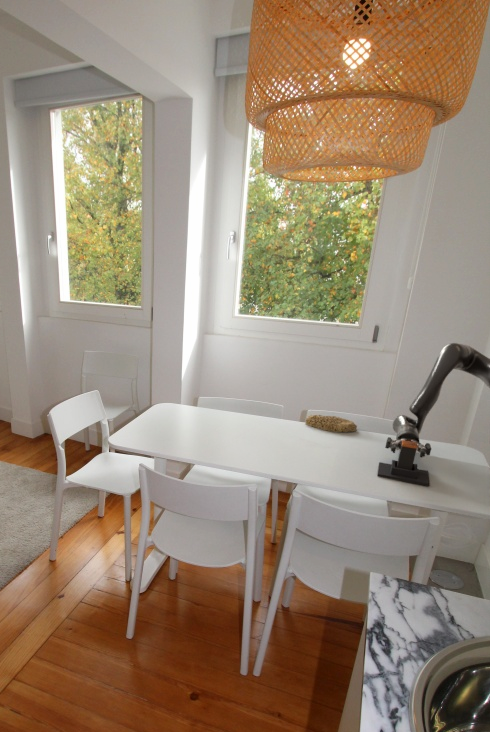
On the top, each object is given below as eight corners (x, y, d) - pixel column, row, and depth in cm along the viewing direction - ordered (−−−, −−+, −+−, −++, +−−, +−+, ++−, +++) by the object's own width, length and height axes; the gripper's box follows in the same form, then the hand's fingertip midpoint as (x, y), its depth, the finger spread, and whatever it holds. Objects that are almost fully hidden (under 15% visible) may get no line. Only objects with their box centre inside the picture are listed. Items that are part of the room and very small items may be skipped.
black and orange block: (410, 471, 167) (417, 442, 163) (410, 475, 163) (417, 446, 159) (395, 468, 169) (402, 440, 165) (395, 473, 165) (402, 444, 161)
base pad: (427, 473, 168) (429, 464, 167) (428, 486, 158) (431, 476, 157) (378, 464, 175) (380, 455, 173) (377, 476, 165) (379, 467, 163)
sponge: (303, 432, 210) (348, 436, 196) (303, 414, 209) (349, 417, 195) (315, 429, 219) (359, 433, 206) (316, 413, 218) (360, 415, 205)
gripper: (388, 426, 178) (387, 439, 164) (431, 432, 172) (434, 446, 158) (384, 444, 180) (383, 458, 167) (426, 451, 174) (428, 466, 161)
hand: (408, 452), depth 163 cm, fingers open, 8 cm apart
